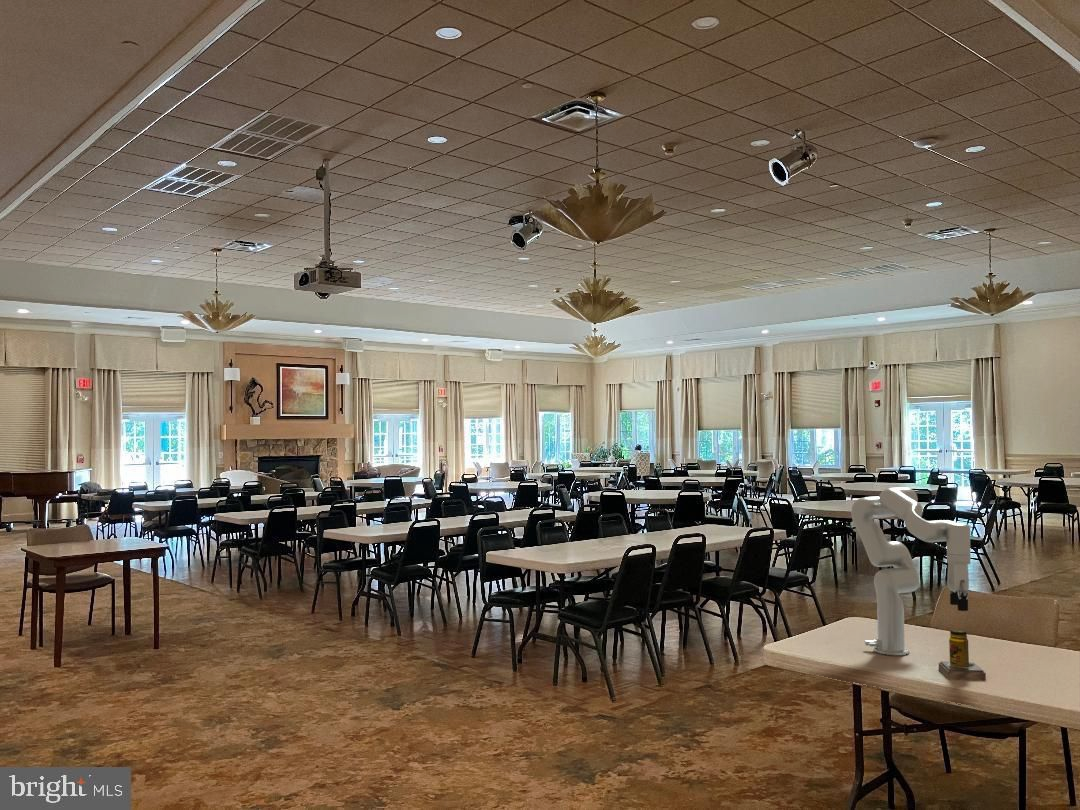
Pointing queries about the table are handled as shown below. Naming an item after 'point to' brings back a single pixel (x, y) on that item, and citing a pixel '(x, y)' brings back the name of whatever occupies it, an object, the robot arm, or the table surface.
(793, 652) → the table surface
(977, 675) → the pedestal
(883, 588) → the robot arm
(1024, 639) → the table surface
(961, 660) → the condiment
